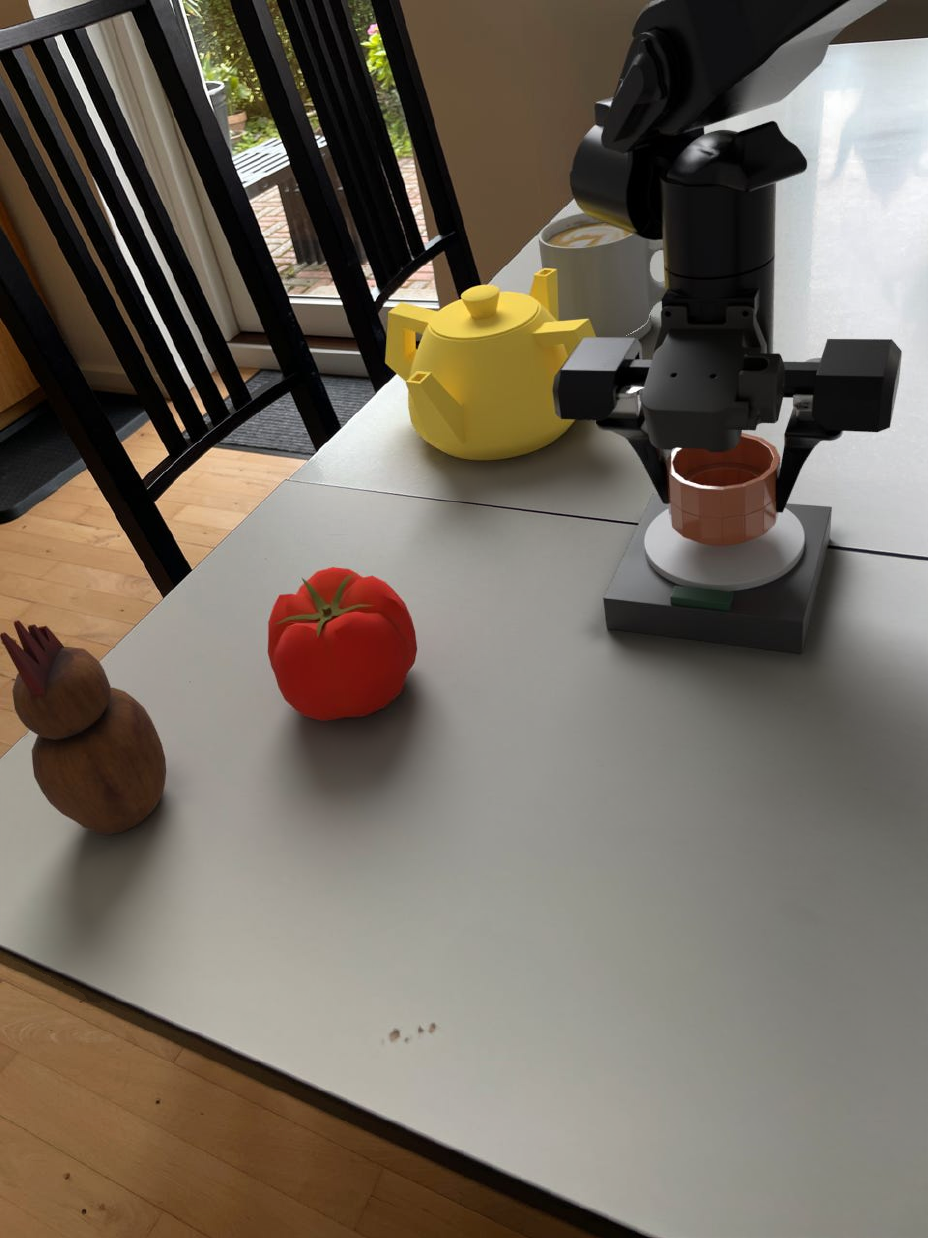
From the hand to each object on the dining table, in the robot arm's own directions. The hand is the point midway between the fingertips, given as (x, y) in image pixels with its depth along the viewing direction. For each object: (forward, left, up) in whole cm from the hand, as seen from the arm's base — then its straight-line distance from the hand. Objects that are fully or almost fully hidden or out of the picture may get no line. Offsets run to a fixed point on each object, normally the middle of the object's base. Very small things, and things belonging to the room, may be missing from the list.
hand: (722, 504), depth 63 cm
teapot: (+23, -18, -6) cm, 30 cm away
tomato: (+20, +16, -6) cm, 26 cm away
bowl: (0, 0, -1) cm, 1 cm away
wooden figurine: (+29, +28, -6) cm, 41 cm away
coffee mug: (+18, -37, -6) cm, 42 cm away
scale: (0, +1, -6) cm, 6 cm away
